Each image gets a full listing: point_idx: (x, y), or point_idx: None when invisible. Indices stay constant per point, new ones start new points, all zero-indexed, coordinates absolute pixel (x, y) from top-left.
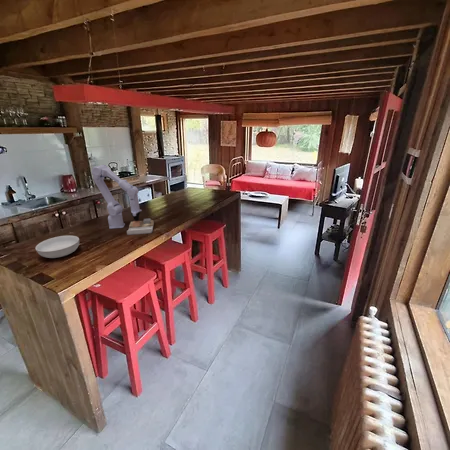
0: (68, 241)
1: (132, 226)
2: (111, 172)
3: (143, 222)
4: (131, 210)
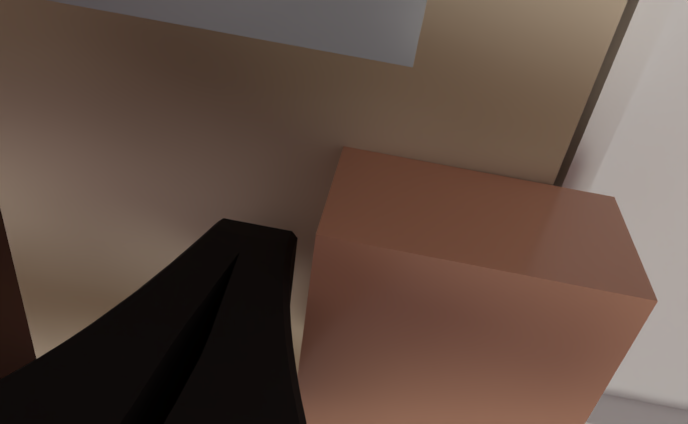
0: None
1: None
2: None
3: None
4: None
